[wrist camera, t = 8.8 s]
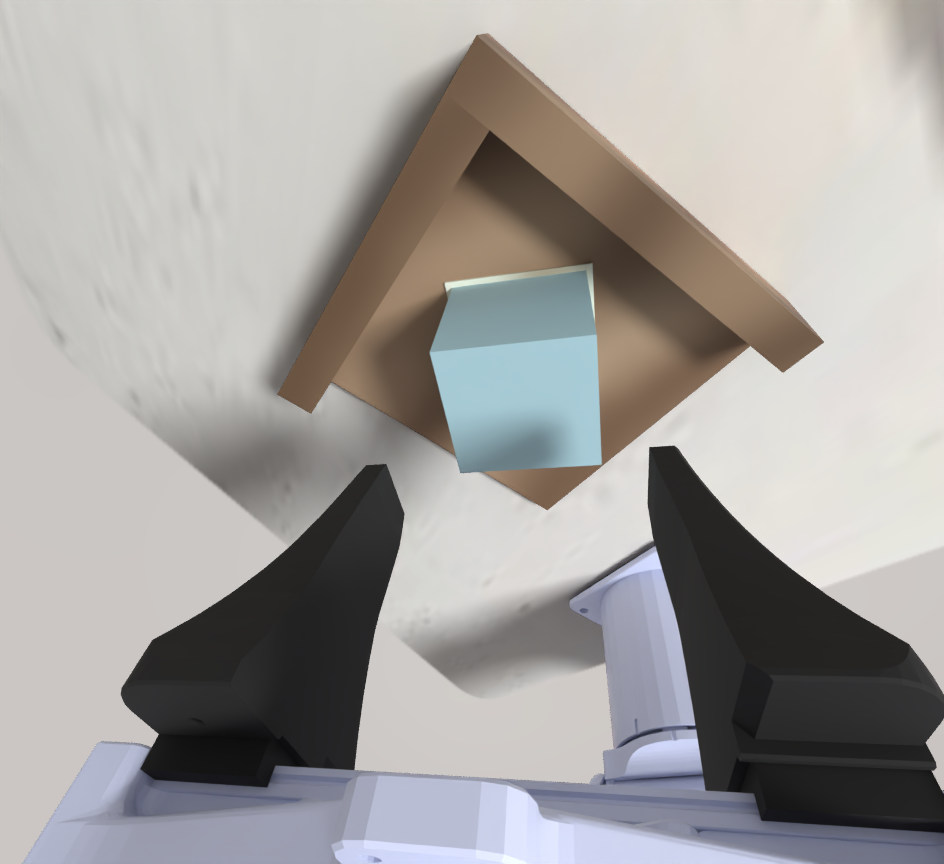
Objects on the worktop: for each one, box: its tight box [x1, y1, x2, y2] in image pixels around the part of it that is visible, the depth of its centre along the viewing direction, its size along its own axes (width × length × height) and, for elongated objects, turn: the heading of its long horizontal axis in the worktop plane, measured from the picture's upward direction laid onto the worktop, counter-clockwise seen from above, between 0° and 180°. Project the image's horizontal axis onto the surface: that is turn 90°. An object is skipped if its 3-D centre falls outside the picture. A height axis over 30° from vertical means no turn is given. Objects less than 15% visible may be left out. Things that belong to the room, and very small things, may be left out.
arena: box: [277, 33, 824, 510], centre depth 20 cm, size 14×14×3 cm
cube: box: [430, 270, 602, 473], centre depth 19 cm, size 5×5×5 cm
